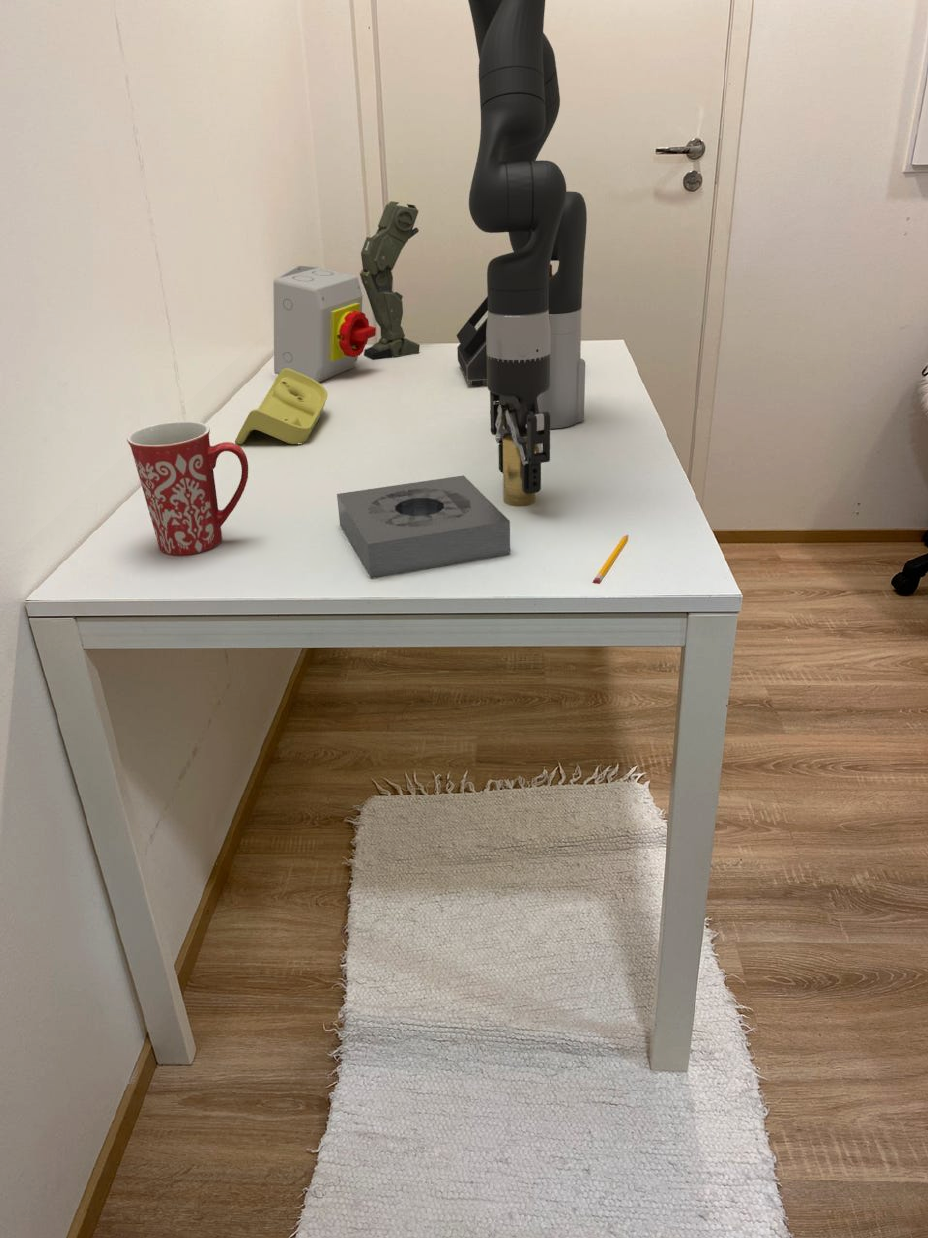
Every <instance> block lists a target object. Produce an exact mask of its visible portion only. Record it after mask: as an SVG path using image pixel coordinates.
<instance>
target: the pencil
mask: <svg viewBox="0 0 928 1238" xmlns="http://www.w3.org/2000/svg"><path fill="white" fill-rule="evenodd" d="M628 541H629V534H626V535H624V536H622V537H621V539H620V541H619V542H618V543H617V544H616V547H615V548H614V550H613V551H612V552H611V554H610V555H609V557H608V558H607V559H606V561H605V563H604V564H603V566H602V567H601V569H600V570H599V571H598V573H597V574H596V576H595V577H594V579H593V581H592V583H593V584H598V585H599V584H600V583H601V582H602V580H603V579H604V577H606V574H607V572H608V571H609V569H610V568H611V567H612V565H613V564H614V562H615V561H616V559H617V558H618V556H619V555H620V553H621V551H623V548H624V547H625V546H626V543H627V542H628Z"/></svg>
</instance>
